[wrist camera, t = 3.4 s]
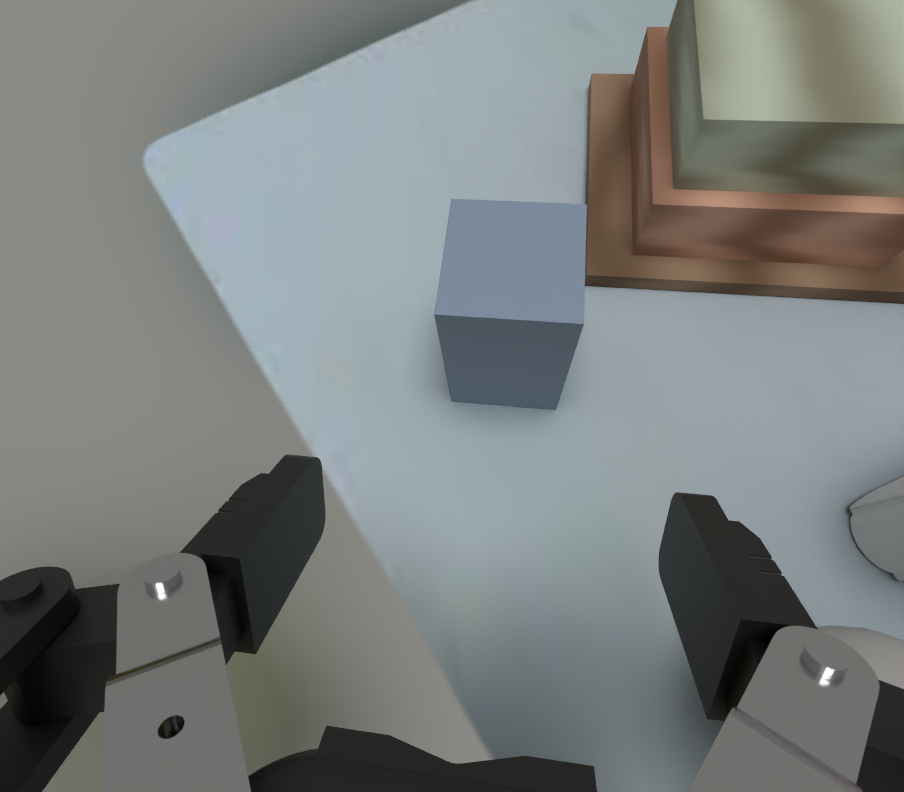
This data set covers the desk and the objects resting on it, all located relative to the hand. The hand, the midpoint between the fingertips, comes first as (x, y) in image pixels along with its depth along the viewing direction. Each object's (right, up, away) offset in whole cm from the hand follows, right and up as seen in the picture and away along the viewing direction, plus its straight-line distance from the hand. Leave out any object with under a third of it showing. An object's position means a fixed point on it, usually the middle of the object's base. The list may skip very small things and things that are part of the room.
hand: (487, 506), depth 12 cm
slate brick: (+2, +5, +17) cm, 17 cm away
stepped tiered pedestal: (+17, +16, +20) cm, 30 cm away
